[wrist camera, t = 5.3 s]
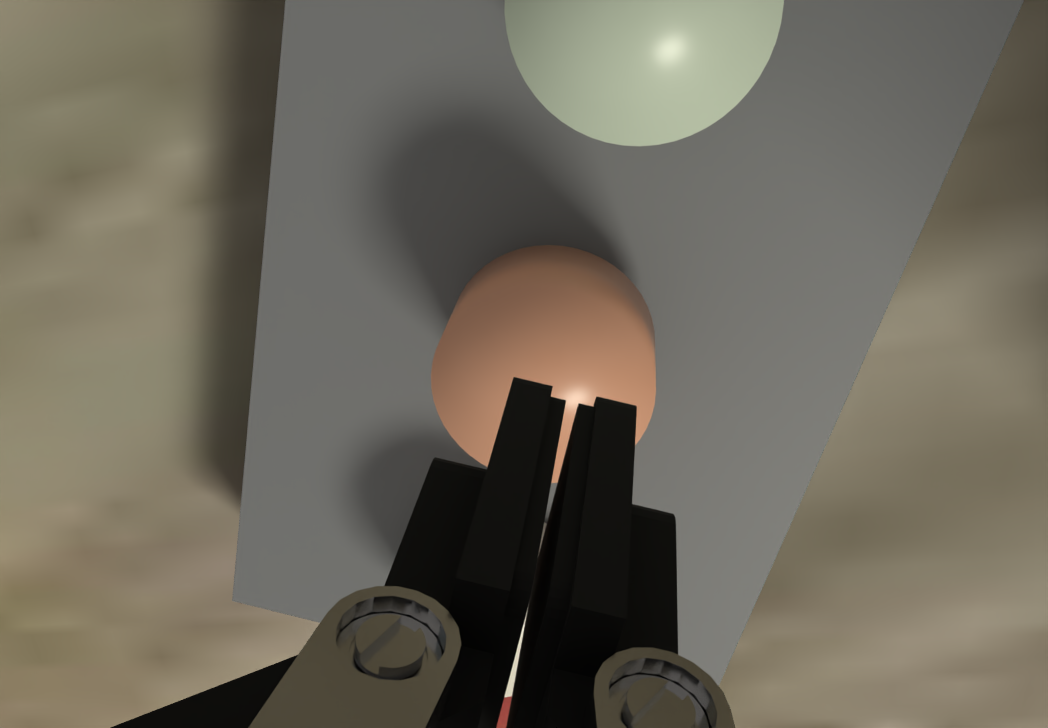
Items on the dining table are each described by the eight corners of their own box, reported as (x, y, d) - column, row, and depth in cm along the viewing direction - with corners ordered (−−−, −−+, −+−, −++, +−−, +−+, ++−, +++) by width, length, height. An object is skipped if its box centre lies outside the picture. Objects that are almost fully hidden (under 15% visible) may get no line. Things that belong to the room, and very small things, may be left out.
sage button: (550, -175, 16) (537, -181, 15) (805, -112, 16) (826, -110, 15) (497, 86, 19) (480, 111, 17) (723, 142, 19) (732, 173, 17)
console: (358, -287, 19) (313, -312, 17) (1020, -124, 19) (1078, -123, 17) (269, 536, 30) (232, 600, 27) (699, 642, 30) (704, 718, 27)
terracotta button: (470, 222, 20) (451, 259, 18) (680, 274, 20) (684, 317, 18) (434, 403, 22) (414, 453, 20) (624, 449, 22) (622, 505, 20)
